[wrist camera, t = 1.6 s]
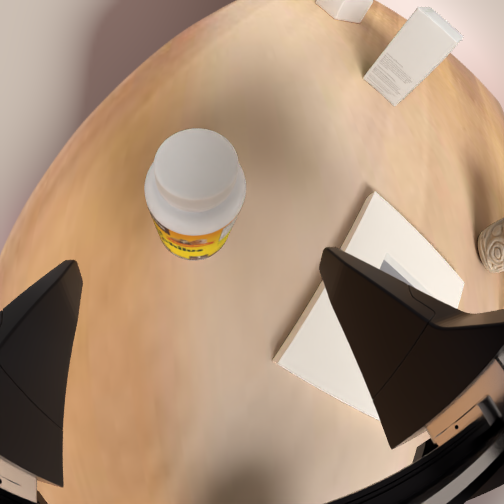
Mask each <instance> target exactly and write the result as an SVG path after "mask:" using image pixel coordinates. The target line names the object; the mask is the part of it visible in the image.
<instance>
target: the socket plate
mask: <svg viewBox="0 0 504 504" xmlns="http://www.w3.org/2000/svg"><path fill="white" fill-rule="evenodd" d="M340 250H342V251H344V252H346V253H348V254H350V255H352V256H354V257H356V258H358V259H360V260H362V261H364V262H366V263H368V264H370V265H372V266H374V267H376V268H378V269H380V270H382V271H384V272H386V273H388V274H390V275H391V276H393V277H395V278H397V279H399V280H401V281H403V282H405V283H407V284H408V285H410V286H412V287H414V288H416V289H418V290H420V291H422V292H424V293H426V294H427V295H430V296H432V297H434V298H436V299H438V300H440V301H442V302H444V303H446V304H448V305H450V306H452V307H454V308H456V309H457V308H458V305H459V301H460V298H461V294H462V290H463V287H464V282H463V280H462V279H461V278H460V277H459V276H458V274H457V273H456V272H455V271H454V270H453V269H452V267H451V266H450V265H449V264H448V263H447V262H446V261H445V260H444V258H443V257H442V256H441V255H440V254H439V253H438V252H437V251H436V250H435V249H434V248H433V246H432V245H431V244H430V243H429V242H428V241H427V240H426V239H425V238H424V237H423V236H422V235H421V234H420V233H419V232H418V231H417V230H416V229H415V228H414V227H413V226H412V225H411V224H410V223H409V222H408V221H407V220H406V219H405V218H404V217H403V216H402V215H401V214H400V213H399V212H398V211H396V210H395V209H394V208H393V207H392V206H391V205H390V204H389V203H388V202H387V201H386V200H384V199H383V198H382V197H381V196H380V195H379V194H378V193H377V192H373V193H372V194H371V195H369V196H368V197H367V198H366V200H365V202H364V204H363V206H362V208H361V210H360V212H359V214H358V216H357V218H356V220H355V222H354V224H353V226H352V227H351V229H350V231H349V233H348V235H347V237H346V239H345V241H344V243H343V244H342V246H341V248H340ZM272 361H273V362H274V363H276V364H278V365H279V366H281V367H283V368H284V369H286V370H287V371H289V372H291V373H292V374H294V375H296V376H297V377H299V378H301V379H303V380H304V381H306V382H308V383H309V384H311V385H313V386H315V387H316V388H318V389H320V390H322V391H323V392H325V393H327V394H329V395H331V396H332V397H334V398H336V399H338V400H340V401H342V402H344V403H345V404H347V405H349V406H351V407H353V408H355V409H357V410H359V411H361V412H363V413H365V414H367V415H369V416H371V417H373V418H375V419H377V420H379V421H380V419H379V416H378V413H377V411H376V408H375V406H374V403H373V401H372V400H373V399H372V398H371V395H370V393H369V390H368V388H367V386H366V383H365V381H364V378H363V376H362V373H361V371H360V369H359V366H358V364H357V362H356V359H355V357H354V355H353V352H352V350H351V348H350V345H349V343H348V341H347V339H346V336H345V334H344V332H343V330H342V327H341V325H340V323H339V321H338V319H337V316H336V314H335V312H334V310H333V308H332V305H331V303H330V300H329V297H328V294H327V291H326V288H325V285H324V282H323V280H322V282H321V283H320V285H319V287H318V289H317V290H316V292H315V294H314V295H313V297H312V299H311V300H310V302H309V304H308V305H307V307H306V309H305V310H304V312H303V313H302V315H301V317H300V318H299V320H298V321H297V323H296V325H295V326H294V328H293V329H292V331H291V332H290V334H289V336H288V337H287V339H286V340H285V342H284V343H283V345H282V346H281V348H280V349H279V351H278V352H277V354H276V355H275V357H274V358H273V360H272Z"/></svg>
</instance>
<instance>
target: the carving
mask: <svg viewBox="0 0 504 504" xmlns="http://www.w3.org/2000/svg"><path fill="white" fill-rule="evenodd" d="M478 250H479V254H480V258H481V261H482V263H483V265H484V267H485V268H486V269H487V270H488V271H489V272H492V273H499V272H502V271H504V218H502V219H500V220H498V221H496V222H495V223H493V224H491V225H490V226H488V227H487V228H486V229H485V230H483V231H482V232H481V234H480V235H479V238H478Z"/></svg>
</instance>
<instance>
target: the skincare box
mask: <svg viewBox="0 0 504 504" xmlns="http://www.w3.org/2000/svg"><path fill="white" fill-rule="evenodd" d="M462 38H463V35H461V33H459V32H458V31H457V30H456V29H455V28H454V27H453V26H452V25H451V24H450V23H448V22H447V21H446V20H445V19H444V18H442V17H441V16H440V15H439V14H438V13H437V12H436V11H434V10H433V9H432V8H430V7H418V8H417V9H416V10H415V12H414V13H413V14H412V16H411V17H410V18H409V19H408V20H407V22H406V23H405V24H404V25H403V27H402V28H401V29H400V30H399V32H398V33H397V34H396V36H395V37H394V38H393V39H392V41H391V42H390V43H389V44H388V46H387V47H386V48H385V50H384V51H383V52H382V53H381V55H380V56H379V57H378V59H377V60H376V61H375V63H374V64H373V65H372V66H371V68H370V69H369V70H368V72H367V73H366V74H365V76H364V77H363V79H364V80H365V81H366V82H368V83H369V84H370V85H371V86H372V87H373V88H375V89H376V90H377V91H378V92H379V93H380V94H381V95H382V96H383V97H385V98H386V99H387V100H388V101H389V102H390V103H391V104H392V105H393V106H396V105H397V104H398V103H399V102H401V101H402V100H403V99H404V98H405V97H406V96H407V95H408V94H409V93H410V92H411V91H413V90H414V89H415V88H416V87H417V86H418V85H419V84H420V83H421V82H422V81H423V80H424V79H425V78H426V77H427V76H428V75H429V74H430V73H431V72H432V71H433V70H434V69H435V68H436V67H437V66H438V65H439V64H440V63H441V62H442V61H443V60H444V59H445V58H446V57H447V56H448V55H449V53H450V52H451V51H452V50H453V49H454V48H455V47H456V45H457V44H458V43H459V42H460V41H462Z"/></svg>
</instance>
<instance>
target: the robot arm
mask: <svg viewBox="0 0 504 504" xmlns="http://www.w3.org/2000/svg"><path fill="white" fill-rule="evenodd" d="M319 270H320V274H321V277H322V279H323V282H324V285H325V288H326V291H327V294H328V297H329V300H330V303H331V305H332V308H333V310H334V312H335V314H336V316H337V319H338V321H339V323H340V325H341V327H342V330H343V332H344V334H345V336H346V339H347V341H348V343H349V345H350V348H351V350H352V352H353V355H354V357H355V359H356V362H357V364H358V366H359V369H360V371H361V373H362V376H363V378H364V381H365V383H366V386H367V388H368V390H369V393H370V395H371V398H372V399H373V400H372V401H373V403H374V406H375V408H376V411H377V413H378V416H379V419H380V421H381V424H382V427H383V429H384V432H385V434H386V437H387V440H388V443H389V445H390V447H391V449H394V448H396V447H398V446H400V445H402V444H404V443H406V442H407V441H409V440H411V439H413V438H415V437H417V436H418V435H420V434H422V433H423V432H425V431H427V432H428V434H429V436H430V439H429V440H427V441H425V442H424V443H423V444H421V445H420V446H418V447H417V450H416V453H415V456H414V459H413V462H412V464H410V465H409V466H407V467H405V468H403V469H402V470H400V471H398V472H396V473H394V474H392V475H390V476H388V477H386V478H384V479H382V480H380V481H378V482H376V483H374V484H372V485H370V486H368V487H365V488H363V489H361V490H358V491H356V492H354V493H351V494H349V495H346V496H344V497H341V498H338V499H335V500H333V501H330V502H327V503H324V504H464V503H465V502H466V501H468V500H470V499H472V498H475V497H477V496H480V495H482V494H484V493H486V492H488V491H491V490H493V489H495V488H497V487H499V486H501V485H503V484H504V309H502V310H497V311H491V312H485V313H479V314H470V313H466V312H463V311H460V310H458V309H456V308H454V307H452V306H450V305H448V304H446V303H444V302H442V301H440V300H438V299H436V298H434V297H432V296H430V295H427V294H426V293H424V292H422V291H420V290H418V289H416V288H414V287H412V286H410V285H408V284H407V283H405V282H403V281H401V280H399V279H397V278H395V277H393V276H391V275H390V274H388V273H386V272H384V271H382V270H380V269H378V268H376V267H374V266H372V265H370V264H368V263H366V262H364V261H362V260H360V259H358V258H356V257H354V256H352V255H350V254H348V253H346V252H344V251H342V250H340V249H338V248H336V247H326V248H325V249H324V250H323V254H322V258H321V262H320V266H319ZM82 286H83V281H82V277H81V273H80V270H79V267H78V264H77V262H76V261H75V260H65V261H64V262H62V263H61V264H60V265H58V266H57V267H55V268H54V269H53V270H51V271H50V272H49V273H47V274H46V275H45V276H43V277H42V278H41V279H39V280H38V281H37V282H36V283H34V284H33V285H32V286H30V287H29V288H28V289H27V290H25V291H24V292H23V293H22V294H20V295H19V296H18V297H17V298H16V299H14V300H13V301H12V302H11V303H10V304H8V305H7V306H6V307H5V308H4V309H3V311H0V504H48V503H47V502H46V501H45V499H44V498H43V497H42V495H41V494H40V493H39V491H37V480H38V481H41V482H45V483H48V484H51V485H55V486H59V487H63V418H64V405H65V394H66V385H67V378H68V370H69V364H70V358H71V352H72V346H73V341H74V336H75V331H76V326H77V321H78V314H79V306H80V299H81V292H82Z"/></svg>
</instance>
